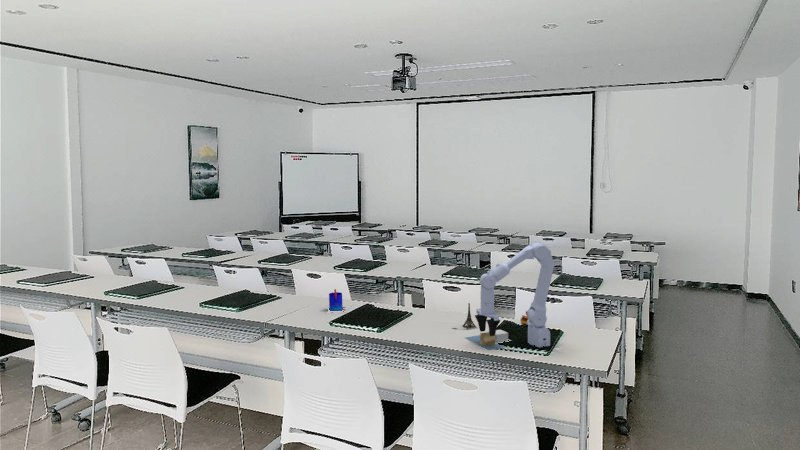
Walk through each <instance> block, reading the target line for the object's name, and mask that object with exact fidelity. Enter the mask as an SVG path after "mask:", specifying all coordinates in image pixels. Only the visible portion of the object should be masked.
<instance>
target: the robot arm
mask: <svg viewBox="0 0 800 450" xmlns="http://www.w3.org/2000/svg"><path fill="white" fill-rule="evenodd" d="M534 259H536V260H537V262H538V263H539V264H540V269H539V274H538V278H537V284H536V288H535V292H534V296H533V297H534V298H533V301H532V302H531V303H530V307H529V308H528V309H527V310H526V311H527V315H526V316H527V317H528V319H529V322H528V326H527V343H529V344H528V345H531V346H534V345H535V347H537V348H544V347H550V346H551V330H550V329H549V328H547V326H546V323H547V319H548V317H547V307H546V304H547V300H548V295H549V291H550V286H551V281H552V277H553V272H554V268H555V262H554V258H553V256H552V251H551V250H550V248H549V247H548V246H547V245H545V244H542V243H541V242H539V241H533V242H532V243H530V244H529V245H526V246H525V247H524V248H523V249H522V250H520V251H518V253H516V254H515V255H513V257H512V258H510V259H509V260H508V261H506V262H500V263H498V262H497V263H496V264H495V267H492V269H490V270H487V271H486V273H483V274H481V275H480V277H479V280H478V281H479V284H480V308H476V310H475V311H476V314H475V315H474V317H475V320H476V321H477V324H478V325H477V326H478V327H479V328H478V329H479V332H480V333H483V332H486V326H488V332H489V334H490V336H495V333H496V330H498V329H497V328H498V327H499V324H500V322H501V320H500V315H498V314H497V313H496V312H495V287H496V284H497V283H499V281H500V282H501V280H503V279H504V278H505V277H507V276H509V275H510V272H511V270H512V269H513V268H514V267H517V266H518V265H519V264H521V263H522V262H524V261H525V260H534ZM543 346H544V347H543Z"/></svg>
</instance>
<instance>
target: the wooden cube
mask: <svg viewBox="0 0 800 450" xmlns="http://www.w3.org/2000/svg"><path fill="white" fill-rule="evenodd" d="M479 335H480V344H482V345H484V346H491V345H495V336H490V334H489V331H484V332H480V334H479Z"/></svg>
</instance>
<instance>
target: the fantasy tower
mask: <svg viewBox="0 0 800 450" xmlns="http://www.w3.org/2000/svg"><path fill="white" fill-rule="evenodd" d="M328 302H329V303H328V306H329V307H328V308H329V310H330V311H342V310H344V311H346V309H343V308H346V307H345V306H343V293H342V292H338V291H337V289H336V288H334V292H330V293H328ZM344 311H343V312H344Z"/></svg>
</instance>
